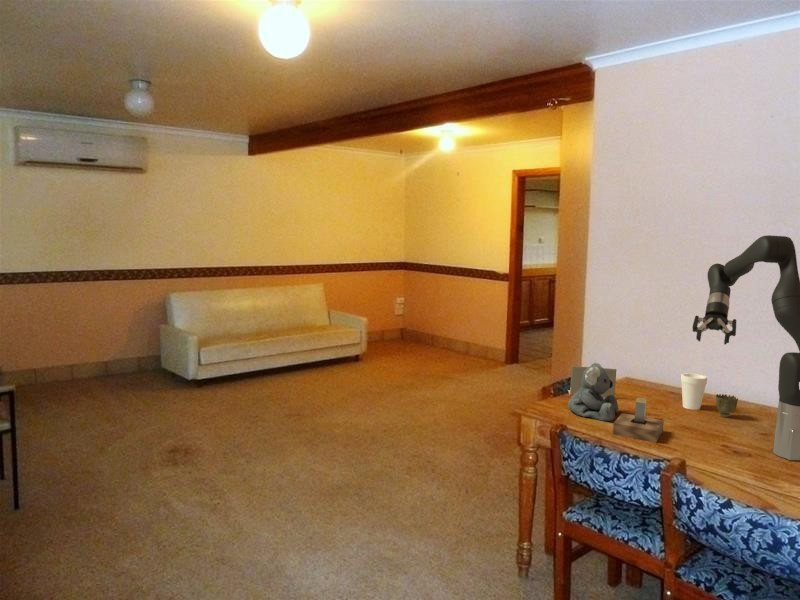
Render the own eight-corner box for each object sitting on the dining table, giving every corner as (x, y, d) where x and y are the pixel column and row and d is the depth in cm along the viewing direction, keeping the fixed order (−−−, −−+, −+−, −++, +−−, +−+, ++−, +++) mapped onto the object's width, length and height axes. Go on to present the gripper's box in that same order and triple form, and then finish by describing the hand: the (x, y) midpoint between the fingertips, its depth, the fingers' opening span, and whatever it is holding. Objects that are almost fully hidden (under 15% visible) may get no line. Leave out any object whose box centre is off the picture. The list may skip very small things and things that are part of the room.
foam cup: (689, 411, 242) (692, 379, 241) (673, 404, 251) (676, 373, 250) (709, 410, 245) (712, 378, 243) (692, 403, 254) (695, 372, 252)
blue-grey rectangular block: (643, 432, 215) (646, 398, 213) (642, 434, 212) (645, 400, 211) (634, 430, 216) (637, 397, 215) (633, 432, 213) (636, 399, 212)
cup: (738, 420, 233) (740, 399, 232) (717, 418, 234) (719, 397, 233) (732, 414, 240) (734, 394, 239) (711, 412, 241) (713, 392, 240)
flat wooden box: (662, 431, 216) (663, 420, 216) (656, 442, 204) (657, 430, 204) (621, 423, 223) (622, 413, 223) (612, 434, 211) (613, 422, 211)
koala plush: (613, 423, 223) (617, 371, 221) (563, 416, 231) (566, 364, 228) (618, 411, 239) (622, 362, 237) (571, 404, 246) (574, 356, 244)
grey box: (609, 392, 269) (611, 362, 268) (614, 399, 257) (616, 369, 255) (567, 388, 272) (569, 359, 271) (569, 396, 260) (571, 366, 258)
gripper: (696, 299, 233) (690, 333, 225) (739, 302, 226) (734, 337, 217) (696, 311, 238) (690, 345, 230) (738, 315, 231) (734, 350, 222)
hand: (712, 341), depth 223 cm, fingers open, 8 cm apart
